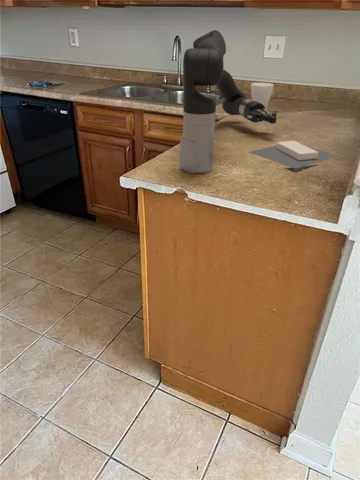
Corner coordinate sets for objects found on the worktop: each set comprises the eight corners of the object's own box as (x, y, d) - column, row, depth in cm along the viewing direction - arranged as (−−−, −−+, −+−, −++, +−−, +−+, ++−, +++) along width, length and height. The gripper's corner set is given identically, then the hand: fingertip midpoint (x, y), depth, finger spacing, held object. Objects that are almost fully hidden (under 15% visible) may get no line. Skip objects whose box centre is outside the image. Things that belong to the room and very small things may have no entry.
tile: (276, 142, 131) (299, 154, 120) (294, 140, 133) (318, 152, 122) (275, 148, 132) (298, 161, 121) (293, 146, 134) (317, 159, 123)
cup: (269, 116, 182) (273, 86, 175) (247, 115, 183) (250, 85, 177) (269, 111, 191) (273, 83, 184) (248, 110, 192) (251, 82, 186)
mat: (295, 172, 115) (295, 168, 115) (248, 155, 129) (248, 151, 129) (337, 159, 127) (338, 155, 126) (290, 144, 141) (290, 141, 140)
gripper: (237, 101, 147) (259, 111, 133) (267, 99, 151) (291, 108, 137) (235, 121, 151) (256, 132, 137) (265, 118, 155) (288, 129, 141)
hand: (274, 120), depth 137 cm, fingers closed
